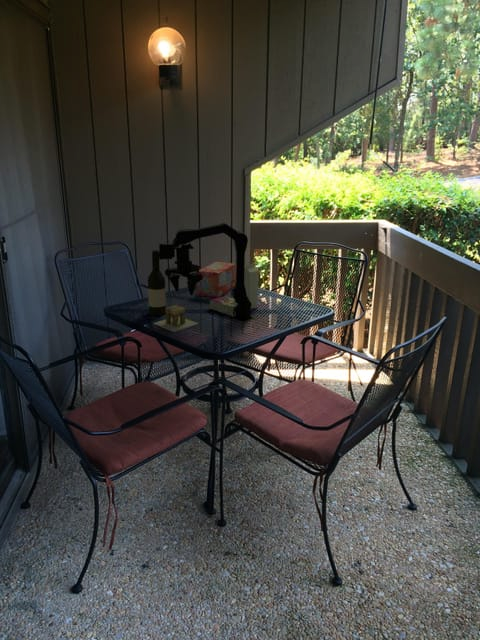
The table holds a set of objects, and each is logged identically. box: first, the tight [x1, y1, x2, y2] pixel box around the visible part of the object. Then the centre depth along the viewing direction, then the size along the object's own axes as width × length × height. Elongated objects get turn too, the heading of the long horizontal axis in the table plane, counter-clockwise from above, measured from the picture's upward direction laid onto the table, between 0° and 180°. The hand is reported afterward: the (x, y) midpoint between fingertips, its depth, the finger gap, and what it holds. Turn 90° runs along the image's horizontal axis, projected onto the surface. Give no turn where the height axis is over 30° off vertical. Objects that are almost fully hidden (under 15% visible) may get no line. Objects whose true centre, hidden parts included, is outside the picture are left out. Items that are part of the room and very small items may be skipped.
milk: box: [244, 262, 260, 310], centre depth 241 cm, size 6×6×22 cm
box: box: [196, 261, 236, 298], centre depth 270 cm, size 27×13×14 cm, turn 161°
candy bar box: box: [209, 295, 237, 318], centre depth 238 cm, size 11×5×16 cm
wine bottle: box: [147, 249, 167, 317], centre depth 228 cm, size 8×8×30 cm
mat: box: [152, 315, 199, 333], centre depth 218 cm, size 14×14×1 cm
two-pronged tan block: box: [165, 305, 186, 326], centre depth 217 cm, size 6×6×7 cm
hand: (184, 293), depth 221 cm, fingers open, 9 cm apart
